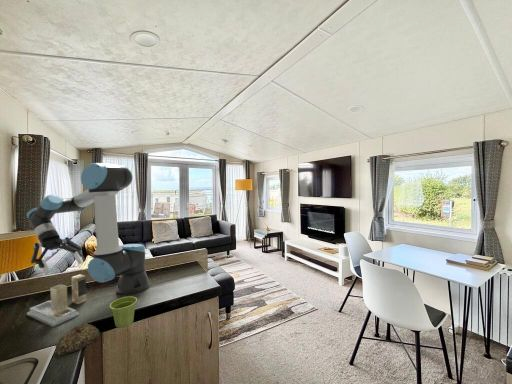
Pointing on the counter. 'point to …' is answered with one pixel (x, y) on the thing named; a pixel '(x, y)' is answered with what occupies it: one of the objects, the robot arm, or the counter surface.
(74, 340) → the bread roll
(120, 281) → the robot arm
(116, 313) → the plant pot
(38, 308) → the base plate with posts
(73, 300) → the beech finger
